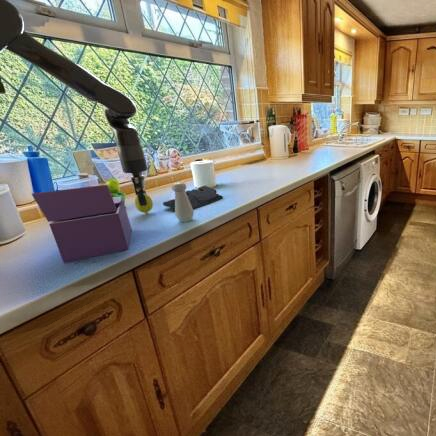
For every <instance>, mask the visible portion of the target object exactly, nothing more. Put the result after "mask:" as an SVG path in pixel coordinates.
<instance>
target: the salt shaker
mask: <svg viewBox="0 0 436 436" xmlns="http://www.w3.org/2000/svg"><path fill="white" fill-rule="evenodd" d="M171 190H172V191H173V192H174V199H175V208H174V216H175V218H176V219H177V220H178V222H180V223H189V222H191V221H192V220H193V218H194V214H195V211H194V209H192V206H191V204H190V201H189V199H188V196H187V194H186V190H187V185H186V183H185V182H175V183H172V184H171Z"/></svg>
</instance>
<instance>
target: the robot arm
mask: <svg viewBox="0 0 436 436" xmlns="http://www.w3.org/2000/svg"><path fill="white" fill-rule="evenodd" d="M24 29H25V22H24V18H23V16H22V14H21V12H20V11H19V10H18V8H17V7H16V6H15V5H14V4H13V3H11V2H10V1H9V0H0V53H2V51H3V50H7V51H9V52H11V53H12V54H14V55H16V56H18V57H20V58H22V59H23V60H25V61H27V62H29V63H31V64H32V65H34V66H36V67H37V68H39V69H41V70H42V71H43V72H45V73H47V74H48V75H50V76H51V77H53V78H54V79H55V80H58V81H59V82H61V84H63V85H65V86H66V87H68V88H70V89H71V90H73V91H74V92H76V93H77V94H79V95H80V96H82V97H83V98H84V99H86V100H88V101H91V102H94V103H98V104H100V105H102V112H103V115H104V116H105V119H106V121H107V123H108V125H109V126H110V129H111V131H112V132H113V135H114V140H115V144H116V147H117V154H118V158H119V162H120V166H121V170H122V172H123V173H124V174H131V175H132V176H131V177H130V181H131V184H132V188H133V190H134V194H135V196H138V200H139V204H140V206H144V205H147V202H146V198H145V194H147V192H146V187H145V186H146V179H145V175H143V172H147V171H148V164H147V161H146V157H145V152H144V149H143V147H142V142H141V140H140V136H139V132H138V130H137V128H136V127H134V126H132V125H131V122H130V119H132V118H134V117H135V116H136V115H137V106H136V104H135V102H134V101H133V100H132V99H131V98H130V97H128V96H127V95H126V94H124V93H123V92H121V91H119V90H117V89H116V88H114V87H112V86H110V85H108V84H106V83H104V82H103V81H101V80H100V79H99V78H98V77H96V76H95V75H93V74H92V73H91V72H90V71H88V70H87V69H85V68H84V67H83V66H81V65H79V64H78V63H76V62H74V61H73V60H71V59H69V58H67V57H65V56H64V55H62V54H60V53H58V52H56V51H55V50H53V49H51V48H50V47H47V46H46V45H44V44H43V43H41V42H40V41H39V40H37V39H35V38H34V37H33V36H32V35H30V34H29V33H28V32H27V31H26V30H24Z"/></svg>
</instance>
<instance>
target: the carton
mask: <svg viewBox="0 0 436 436" xmlns="http://www.w3.org/2000/svg"><path fill="white" fill-rule="evenodd" d="M112 198H113V201H114V203H115V206H116V209H117V211H115V212H109V213H103V214H96V215H90V216H83V217H77V218H70V219H64V220H57V221H51V222H49V224H48V225H49V228H50V230H51V233H52V235H53V238H54V241H55V244H56V246H57V249H58V251H59V254H60V257H61V259H62V262H63V264H66V263H69V262H70V263H71V262H75V261H80V260H85V259H89V258H94V257H99V256H103V255H110V254H113V253H118V252H124V251H129V249H130V245H131V244H130V243H131V236H132V225H131V222H130V219H129V215H128V212H127V211H128V210H127V208H126V204H124V200H123V199H122V196H120V197H112Z"/></svg>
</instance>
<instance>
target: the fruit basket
mask: <svg viewBox="0 0 436 436" xmlns="http://www.w3.org/2000/svg"><path fill="white" fill-rule="evenodd" d="M104 185H108V188H109V190H110V193H111V195H112V197H120V196H122V199H123V200H124V204H125V203H126V193H125V192H124V193H123V192H120V191H121V187H120V182H119V181H118V180H117V177H115V178H113V177H110V178H109V179H108V181H107V182H106V183H105V184H104ZM125 205H126V204H125Z"/></svg>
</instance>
